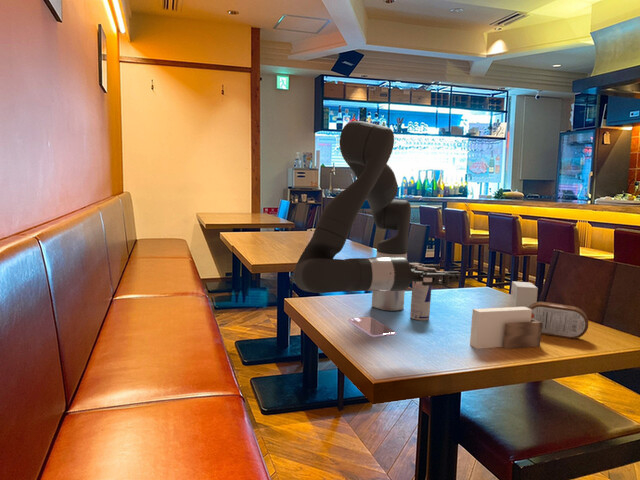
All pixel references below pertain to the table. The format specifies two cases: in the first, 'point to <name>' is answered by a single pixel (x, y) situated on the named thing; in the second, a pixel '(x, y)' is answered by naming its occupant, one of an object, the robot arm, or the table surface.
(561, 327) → the tin
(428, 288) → the energy drink
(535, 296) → the small box
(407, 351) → the table surface
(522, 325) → the slot box
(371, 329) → the mobile phone
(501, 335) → the white rectangular block
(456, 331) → the table surface
